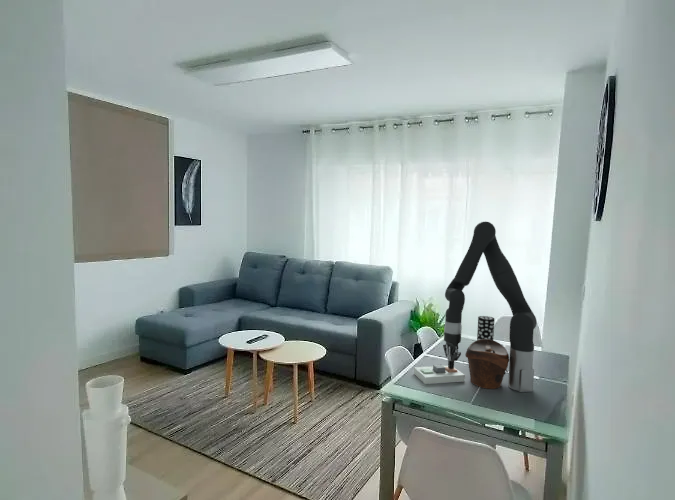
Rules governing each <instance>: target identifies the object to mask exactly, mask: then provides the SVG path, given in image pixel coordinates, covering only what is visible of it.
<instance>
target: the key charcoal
mask: <svg viewBox="0 0 675 500" xmlns="http://www.w3.org/2000/svg"><path fill="white" fill-rule="evenodd" d="M432 366H433V370H434V371H436V372H445V367H444V366H445V365H442V364H433V365H432Z"/></svg>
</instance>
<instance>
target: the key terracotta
mask: <svg viewBox="0 0 675 500" xmlns="http://www.w3.org/2000/svg"><path fill="white" fill-rule="evenodd" d="M455 368H456V367H455ZM455 368H454V369H450V368H448V367H445V370H446V371H447V372H449V373H450V372H457V370H458V369H457V368H456V369H455Z"/></svg>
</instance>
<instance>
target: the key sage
mask: <svg viewBox="0 0 675 500" xmlns="http://www.w3.org/2000/svg"><path fill="white" fill-rule="evenodd" d="M421 372H422V373H423V374H433V372H432V371H431V370H430V369H421Z"/></svg>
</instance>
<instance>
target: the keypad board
mask: <svg viewBox="0 0 675 500" xmlns="http://www.w3.org/2000/svg"><path fill="white" fill-rule="evenodd" d="M443 366H444V367H448V364H447V365H443ZM454 368H455V369H457V368H456V367H455V366H454ZM421 369H430V370H431V371H432V372H433V374H423V373H422V372H421ZM413 374H414V375H415V376H416V377H417V378H418V379H419V380H420V381H421V382H422V383H423V384H424V385H433V384H446V383H460V382H461V383H462V382H463V383H464V382H465V381H466V380H465V379H466V377H465V376H466V374H465V373H463V372H462V371H460V370H459V369H457V372H450V373H449V372H447V371H446V370H445V372H436V371H434V370H433V365H432V366H416V367H415V366H414V367H413Z"/></svg>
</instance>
